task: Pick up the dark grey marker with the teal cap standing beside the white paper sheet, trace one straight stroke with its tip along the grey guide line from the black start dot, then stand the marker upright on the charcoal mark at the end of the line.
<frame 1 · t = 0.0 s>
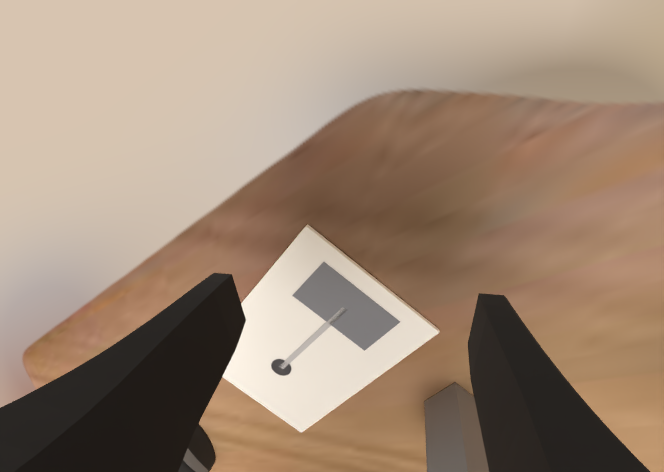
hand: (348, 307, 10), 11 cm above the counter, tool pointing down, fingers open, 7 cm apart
computer mouse: (174, 422, 34), on the counter
marker: (454, 403, 25), on the counter
paper sheet: (304, 343, 25), on the counter
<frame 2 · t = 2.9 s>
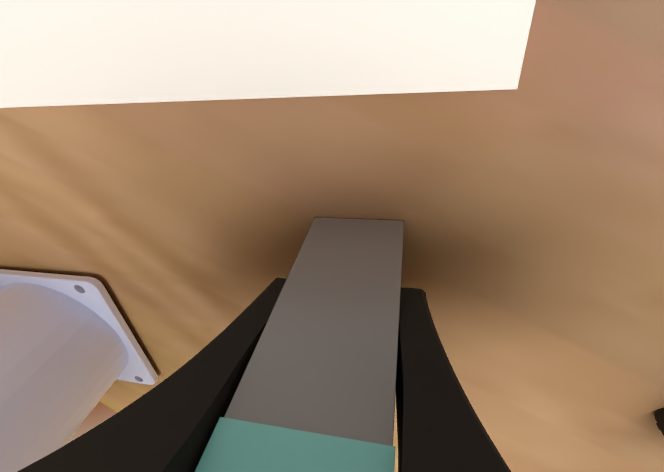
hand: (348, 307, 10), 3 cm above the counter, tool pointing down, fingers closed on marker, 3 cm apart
marker: (359, 254, 12), on the counter, touching gripper
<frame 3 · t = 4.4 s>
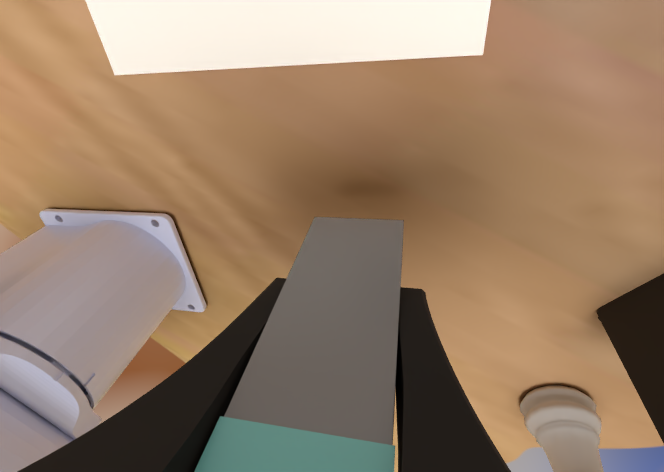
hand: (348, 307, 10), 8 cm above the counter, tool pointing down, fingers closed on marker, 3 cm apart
rook chess piece: (553, 399, 24), on the counter
ink cartridge: (652, 294, 18), on the counter
marker: (359, 254, 12), point 6 cm above the counter, touching gripper
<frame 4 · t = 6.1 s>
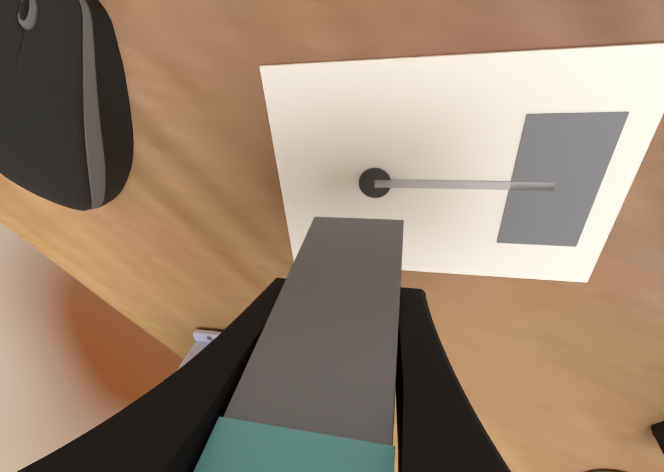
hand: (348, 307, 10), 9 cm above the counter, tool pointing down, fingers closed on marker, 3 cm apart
computer mouse: (78, 103, 19), on the counter
marker: (359, 253, 12), point 6 cm above the counter, touching gripper
paper sheet: (437, 181, 17), on the counter
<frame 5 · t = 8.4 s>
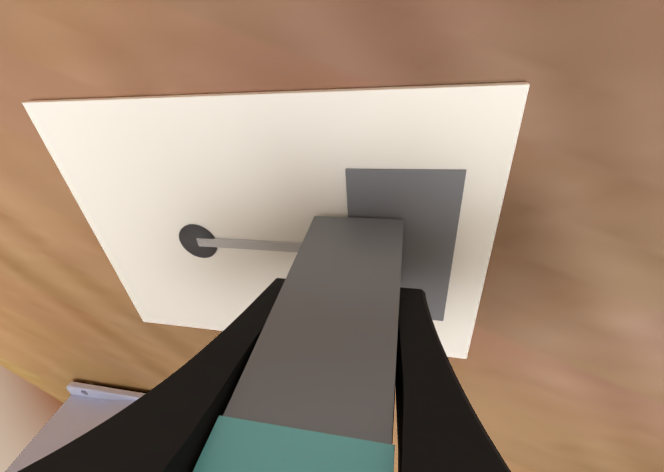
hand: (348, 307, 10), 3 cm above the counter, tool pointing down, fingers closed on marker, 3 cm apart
marker: (359, 253, 12), point 1 cm above the counter, touching gripper
paper sheet: (271, 240, 14), on the counter
when the fingers open (3 cm above the counter, at t = 9.6 s): marker stays where it is, resting on paper sheet.
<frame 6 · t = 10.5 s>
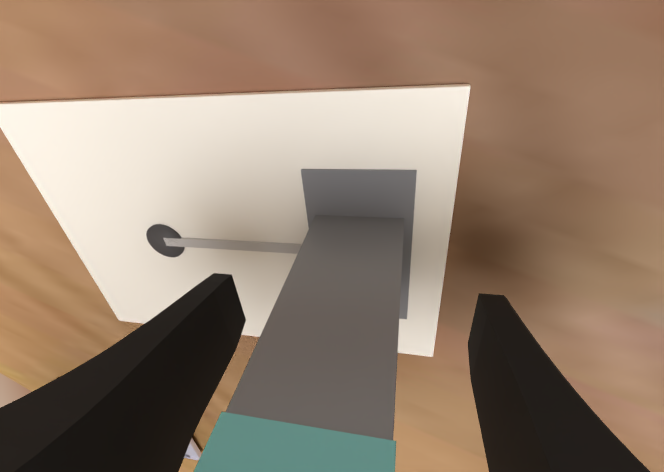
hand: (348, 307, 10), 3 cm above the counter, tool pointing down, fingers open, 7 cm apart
marker: (359, 252, 12), resting on paper sheet
paper sheet: (236, 239, 14), on the counter
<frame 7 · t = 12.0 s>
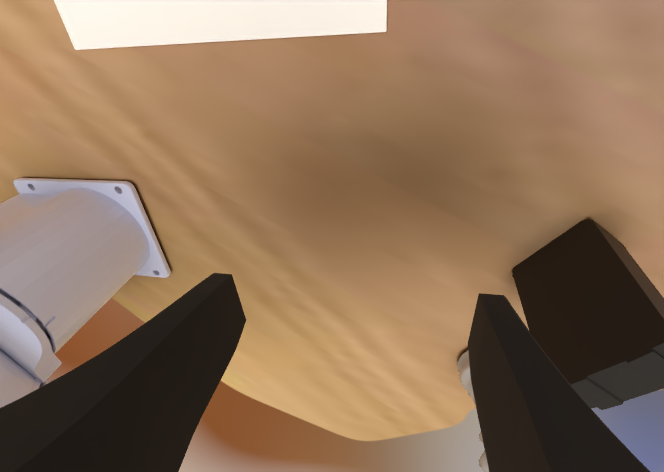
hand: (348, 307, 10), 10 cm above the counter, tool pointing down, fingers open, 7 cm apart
rook chess piece: (488, 358, 26), on the counter
ink cartridge: (558, 254, 20), on the counter
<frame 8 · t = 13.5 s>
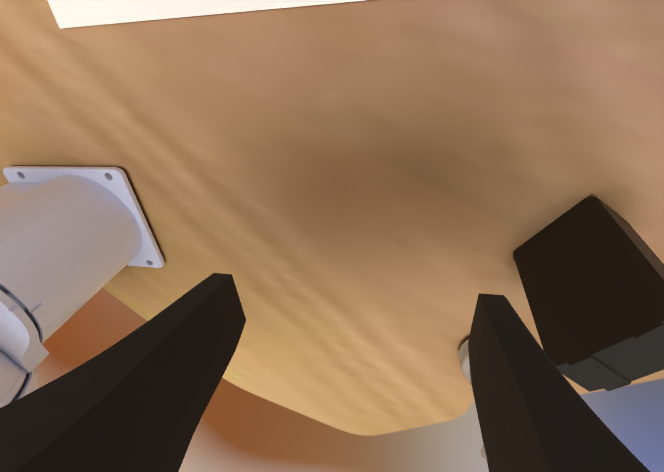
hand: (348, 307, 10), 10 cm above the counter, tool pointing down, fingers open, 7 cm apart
rook chess piece: (489, 347, 25), on the counter
ink cartridge: (561, 234, 19), on the counter
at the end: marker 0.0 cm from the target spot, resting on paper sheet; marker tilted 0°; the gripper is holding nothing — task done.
